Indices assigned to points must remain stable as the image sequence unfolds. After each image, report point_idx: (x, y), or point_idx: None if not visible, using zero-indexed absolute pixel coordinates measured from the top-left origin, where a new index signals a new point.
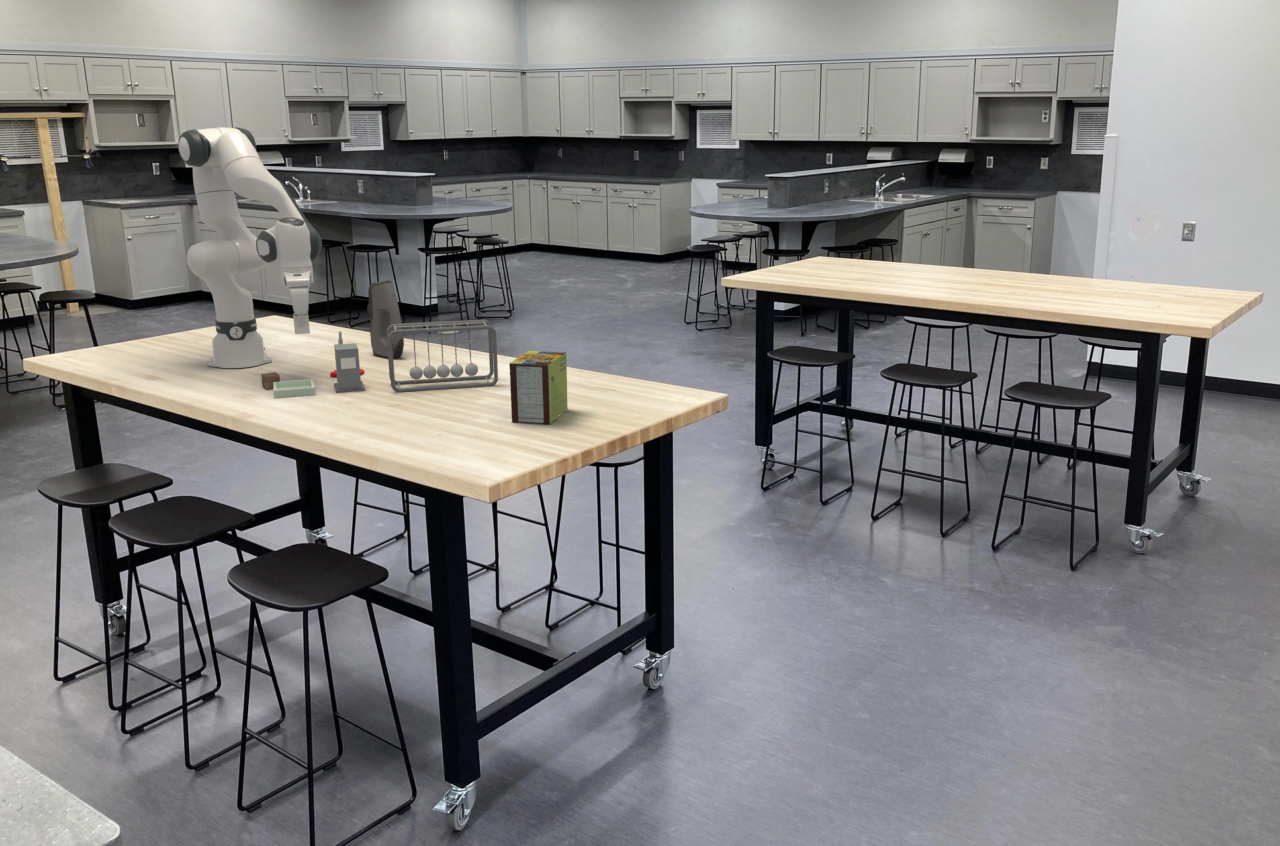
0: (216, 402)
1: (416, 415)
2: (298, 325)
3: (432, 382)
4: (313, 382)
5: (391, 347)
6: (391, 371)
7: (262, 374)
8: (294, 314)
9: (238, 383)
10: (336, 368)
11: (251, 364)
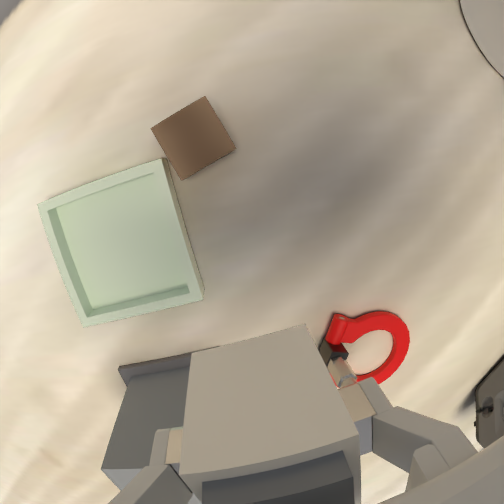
0: (28, 46)
1: (15, 467)
2: (178, 430)
3: None
4: (149, 312)
5: None
6: None
7: (191, 105)
8: (311, 459)
9: (279, 14)
10: None
11: (485, 48)
